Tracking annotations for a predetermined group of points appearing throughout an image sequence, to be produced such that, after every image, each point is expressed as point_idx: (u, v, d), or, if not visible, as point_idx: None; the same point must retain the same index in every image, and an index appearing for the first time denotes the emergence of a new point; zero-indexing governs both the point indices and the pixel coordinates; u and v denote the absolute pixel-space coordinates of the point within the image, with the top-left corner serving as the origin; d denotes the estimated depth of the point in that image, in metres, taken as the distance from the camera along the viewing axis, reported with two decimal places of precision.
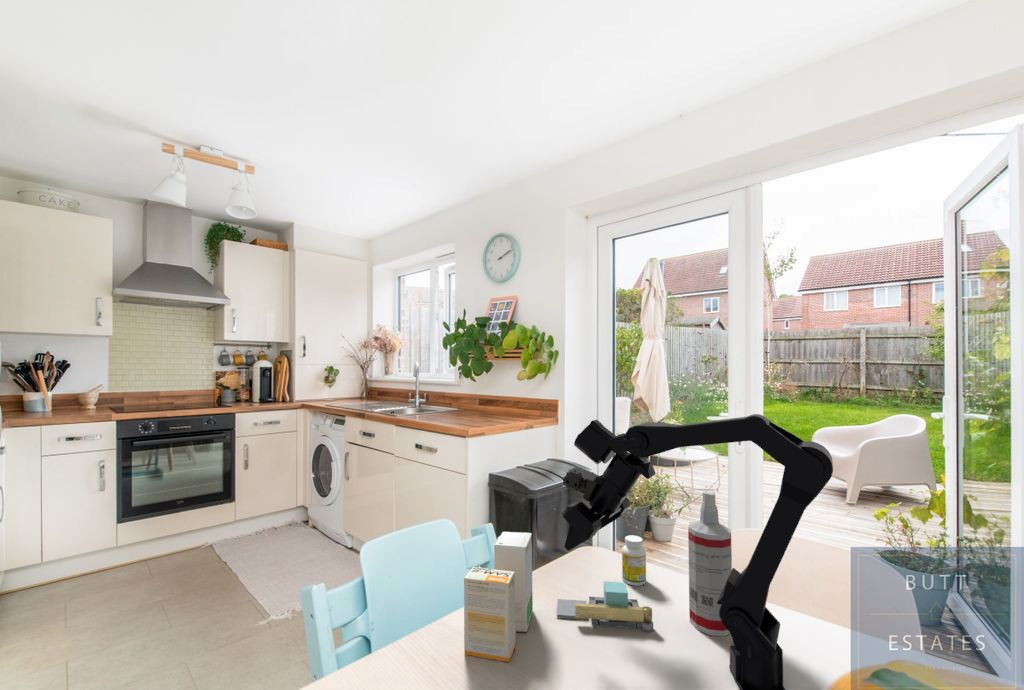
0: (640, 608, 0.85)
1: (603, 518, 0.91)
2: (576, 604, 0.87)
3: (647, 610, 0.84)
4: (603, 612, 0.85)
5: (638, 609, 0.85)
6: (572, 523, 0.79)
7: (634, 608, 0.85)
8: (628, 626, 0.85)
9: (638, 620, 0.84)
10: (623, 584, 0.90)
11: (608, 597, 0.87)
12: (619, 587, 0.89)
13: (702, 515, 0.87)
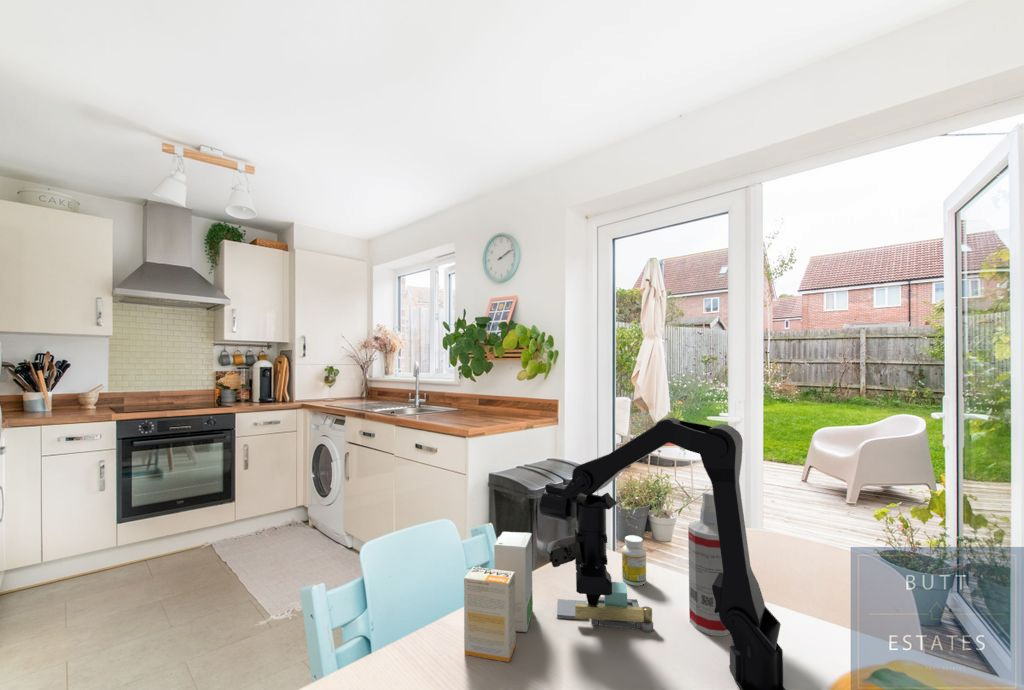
0: (640, 608, 0.85)
1: None
2: (576, 604, 0.86)
3: (647, 610, 0.84)
4: (603, 612, 0.85)
5: (638, 609, 0.85)
6: (591, 592, 0.78)
7: (634, 608, 0.85)
8: (627, 626, 0.85)
9: (638, 620, 0.84)
10: (623, 584, 0.90)
11: (607, 597, 0.87)
12: (619, 587, 0.89)
13: (702, 515, 0.87)
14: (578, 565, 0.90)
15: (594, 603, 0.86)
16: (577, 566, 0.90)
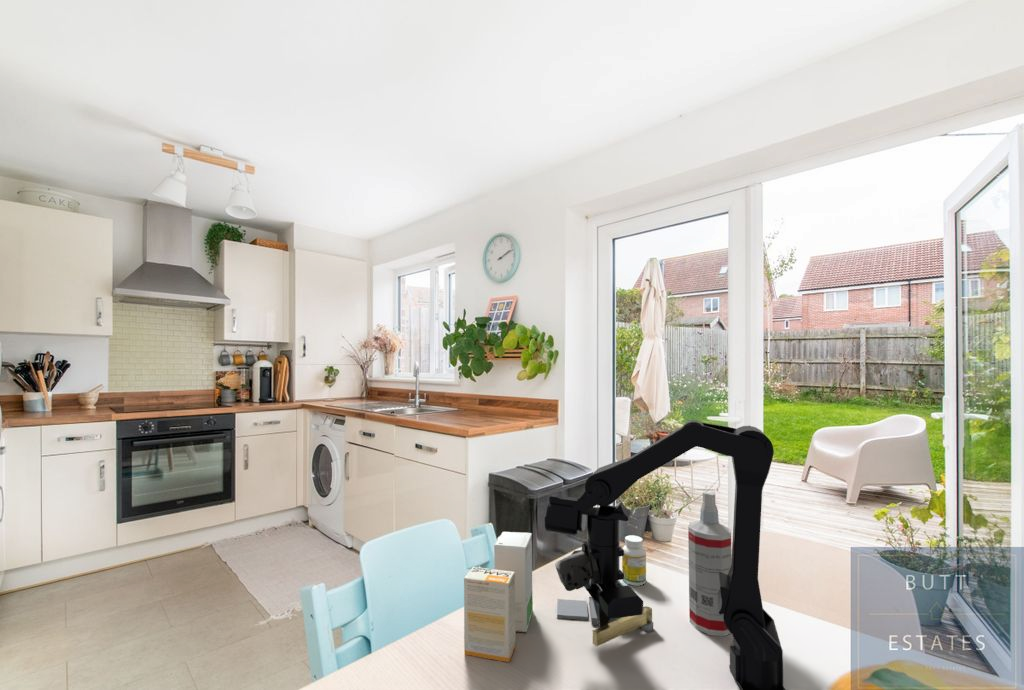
0: None
1: None
2: (595, 631, 0.78)
3: (649, 610, 0.84)
4: (618, 629, 0.80)
5: None
6: (624, 614, 0.71)
7: None
8: None
9: (643, 623, 0.83)
10: (624, 584, 0.90)
11: None
12: None
13: (702, 515, 0.87)
14: None
15: (606, 622, 0.80)
16: None
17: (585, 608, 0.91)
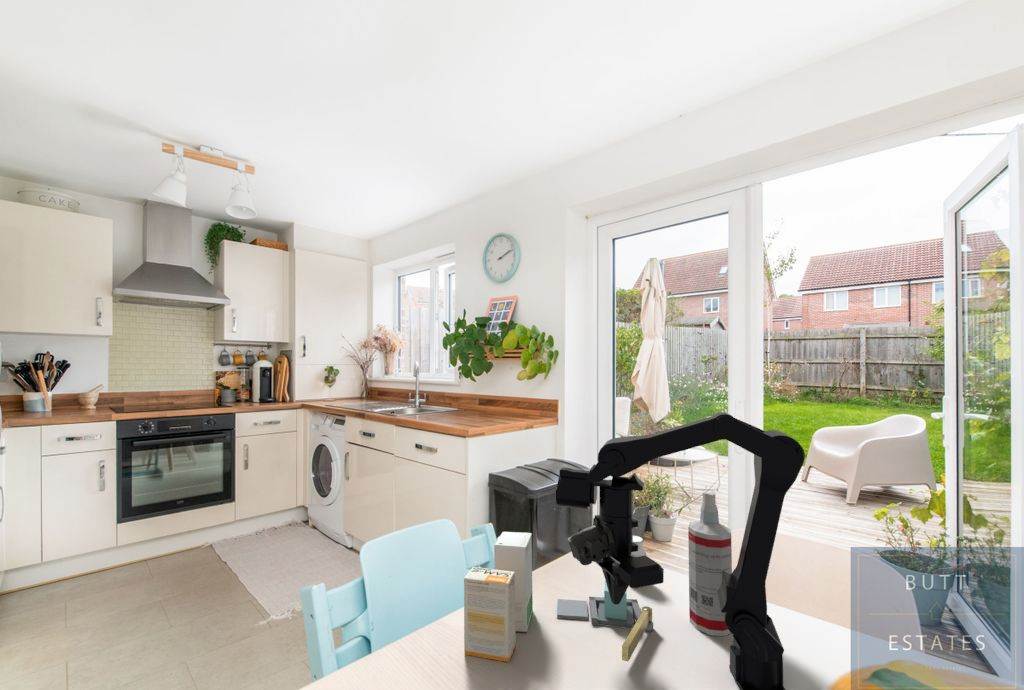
0: (645, 611, 0.84)
1: None
2: (624, 646, 0.74)
3: (649, 609, 0.85)
4: (637, 637, 0.78)
5: (647, 614, 0.83)
6: (646, 583, 0.69)
7: (644, 615, 0.83)
8: (626, 626, 0.85)
9: (647, 624, 0.83)
10: None
11: (607, 596, 0.87)
12: None
13: (702, 515, 0.87)
14: None
15: (620, 597, 0.77)
16: None
17: (585, 608, 0.91)
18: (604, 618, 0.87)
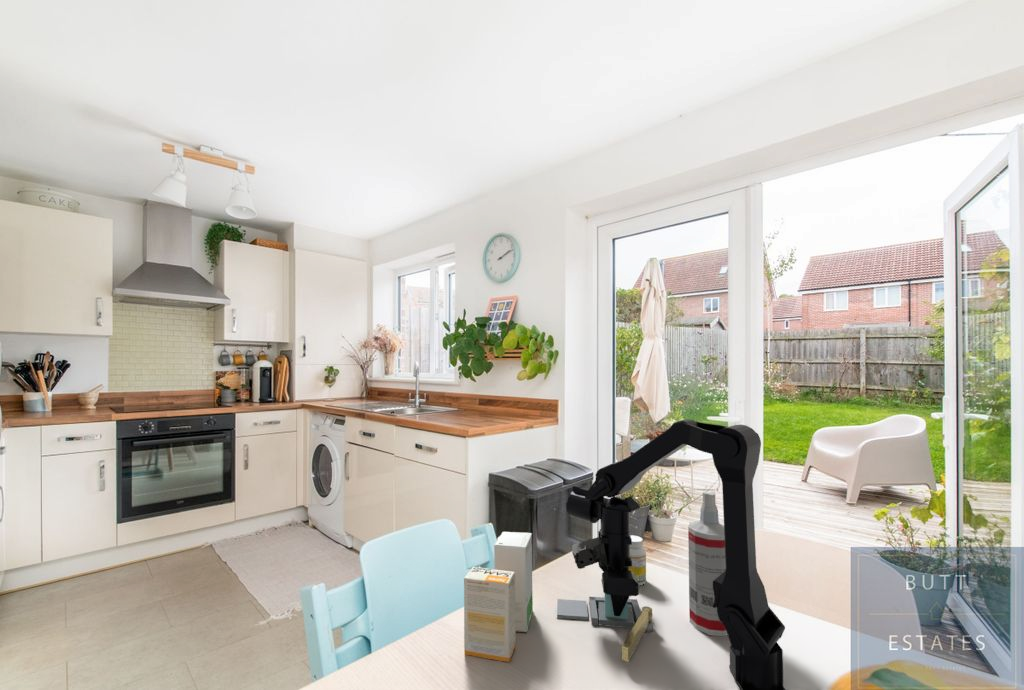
0: (645, 611, 0.84)
1: None
2: (624, 646, 0.74)
3: (649, 609, 0.85)
4: (637, 637, 0.78)
5: (647, 614, 0.83)
6: (618, 592, 0.80)
7: (644, 615, 0.83)
8: (627, 625, 0.85)
9: (647, 624, 0.83)
10: None
11: (607, 596, 0.87)
12: None
13: (702, 515, 0.87)
14: None
15: (620, 611, 0.86)
16: (600, 563, 0.93)
17: (585, 608, 0.91)
18: (605, 617, 0.86)
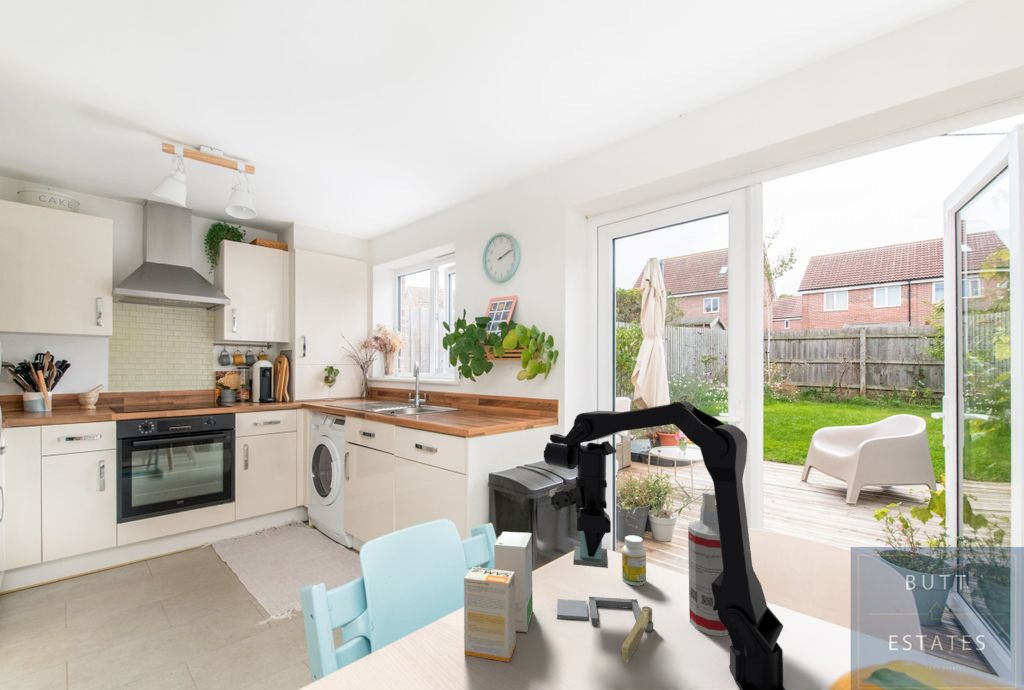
0: (645, 611, 0.84)
1: None
2: (624, 646, 0.74)
3: (649, 609, 0.85)
4: (637, 637, 0.78)
5: (647, 614, 0.83)
6: (590, 529, 0.82)
7: (644, 615, 0.83)
8: (601, 565, 0.87)
9: (647, 624, 0.83)
10: None
11: (582, 537, 0.89)
12: None
13: (702, 515, 0.87)
14: (578, 508, 0.96)
15: (594, 551, 0.88)
16: (577, 509, 0.95)
17: (585, 608, 0.91)
18: (579, 558, 0.89)
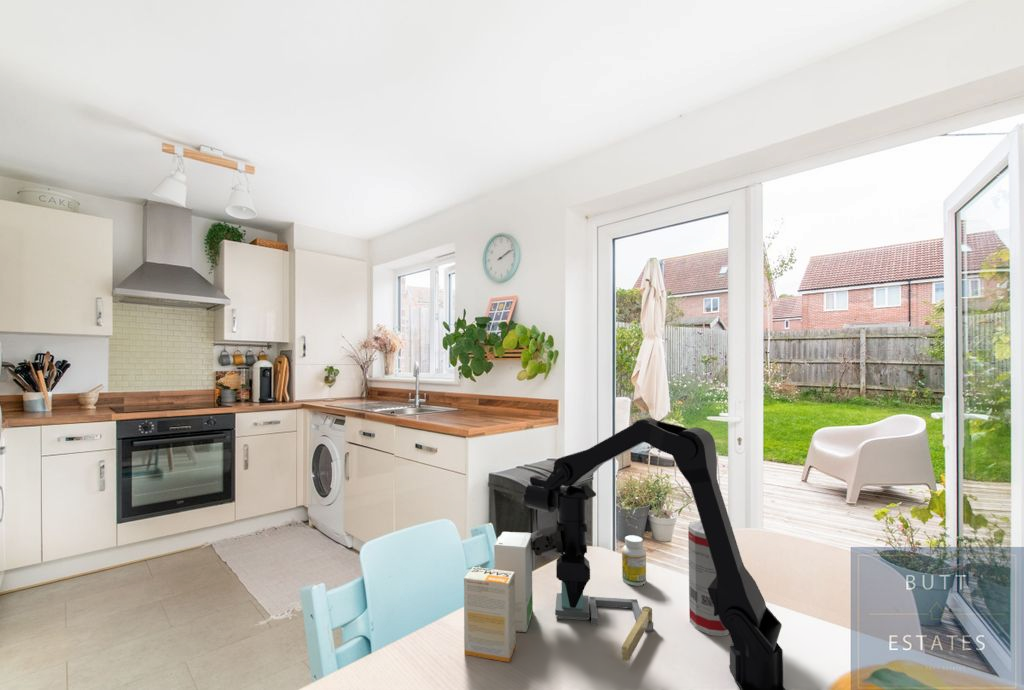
0: (645, 611, 0.84)
1: None
2: (624, 646, 0.74)
3: (649, 609, 0.85)
4: (637, 637, 0.78)
5: (647, 614, 0.83)
6: (570, 577, 0.82)
7: (644, 615, 0.83)
8: (582, 615, 0.87)
9: (647, 624, 0.83)
10: None
11: (564, 587, 0.89)
12: None
13: None
14: None
15: (575, 602, 0.86)
16: None
17: None
18: (561, 608, 0.89)
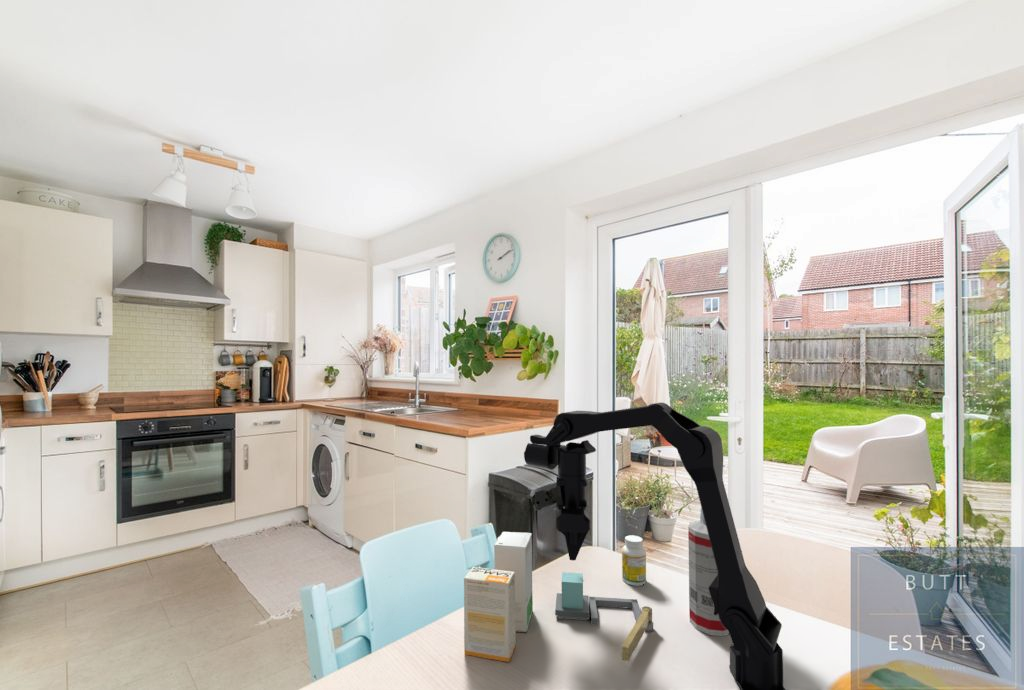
0: (645, 611, 0.84)
1: None
2: (624, 646, 0.74)
3: (649, 609, 0.85)
4: (637, 637, 0.78)
5: (647, 614, 0.83)
6: (570, 528, 0.82)
7: (644, 615, 0.83)
8: (582, 615, 0.87)
9: (647, 624, 0.83)
10: (580, 575, 0.92)
11: (564, 587, 0.89)
12: (576, 577, 0.91)
13: (702, 515, 0.87)
14: None
15: (575, 555, 0.86)
16: None
17: None
18: (561, 608, 0.89)
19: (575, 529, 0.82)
